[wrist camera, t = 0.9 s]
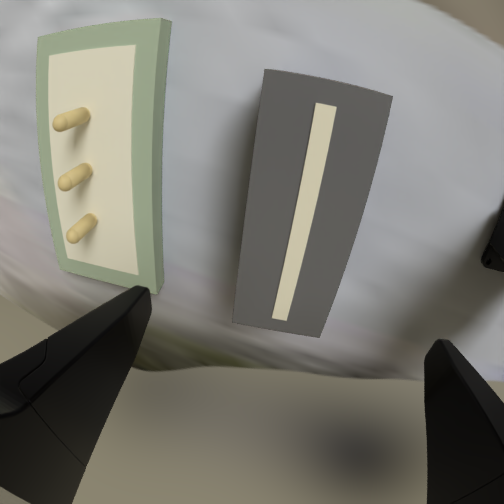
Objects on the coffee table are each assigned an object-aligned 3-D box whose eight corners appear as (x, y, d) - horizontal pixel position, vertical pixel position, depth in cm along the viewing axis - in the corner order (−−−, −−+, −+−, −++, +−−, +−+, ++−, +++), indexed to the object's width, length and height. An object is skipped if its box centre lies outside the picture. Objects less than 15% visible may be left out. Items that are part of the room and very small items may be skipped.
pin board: (171, 21, 14) (133, 11, 10) (164, 282, 24) (140, 323, 20) (52, 36, 14) (4, 40, 11) (69, 259, 24) (39, 291, 20)
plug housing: (368, 88, 15) (393, 96, 10) (318, 284, 22) (319, 339, 17) (275, 69, 15) (264, 69, 11) (246, 270, 22) (231, 323, 18)
